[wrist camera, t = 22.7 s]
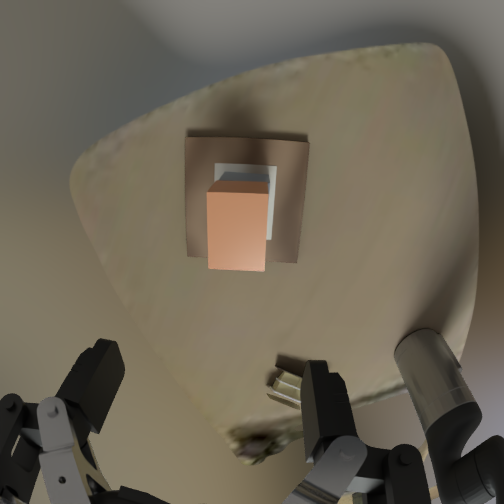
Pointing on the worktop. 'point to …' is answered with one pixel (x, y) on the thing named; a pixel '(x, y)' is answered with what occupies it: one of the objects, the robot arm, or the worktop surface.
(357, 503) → the thermos
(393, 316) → the worktop surface
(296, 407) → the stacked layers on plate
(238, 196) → the terracotta brick
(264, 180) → the slate brick
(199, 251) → the plate
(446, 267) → the worktop surface
